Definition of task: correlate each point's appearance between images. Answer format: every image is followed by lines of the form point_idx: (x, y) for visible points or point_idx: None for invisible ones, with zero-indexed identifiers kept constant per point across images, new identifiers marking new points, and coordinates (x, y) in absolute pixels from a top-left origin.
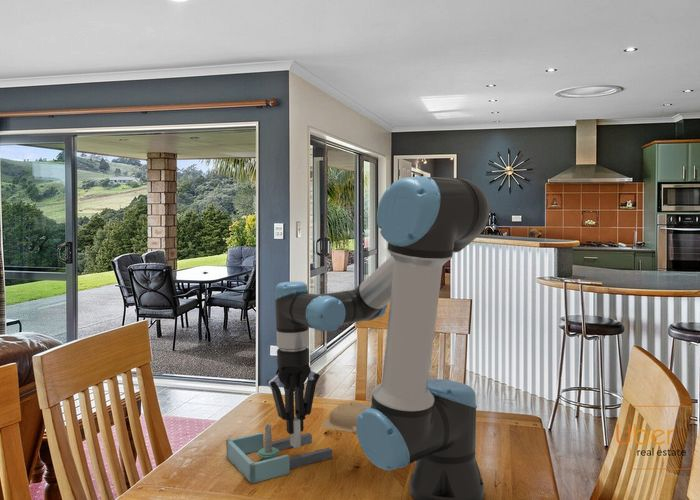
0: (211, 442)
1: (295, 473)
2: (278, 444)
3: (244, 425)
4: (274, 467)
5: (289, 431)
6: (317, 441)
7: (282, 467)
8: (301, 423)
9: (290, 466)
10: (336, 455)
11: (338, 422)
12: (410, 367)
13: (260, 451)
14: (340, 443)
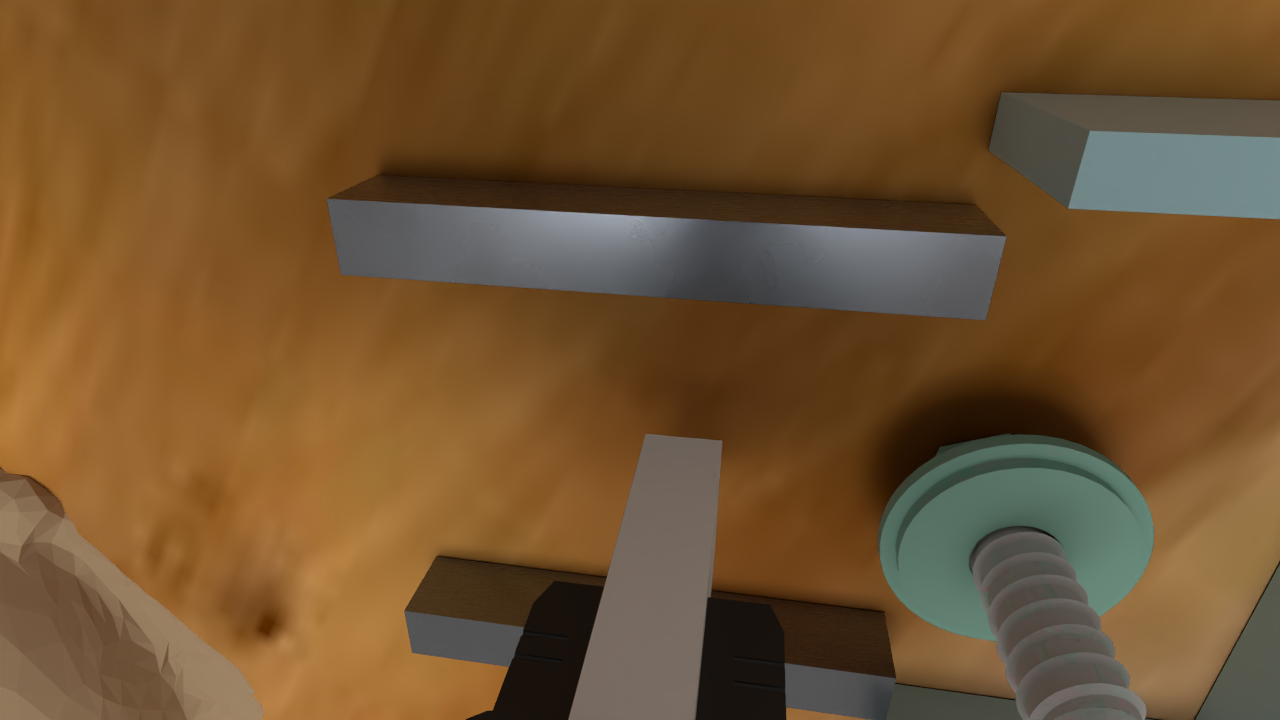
0: None
1: (937, 53)
2: None
3: None
4: None
5: (777, 642)
6: (385, 546)
7: (1153, 110)
8: (539, 687)
9: (915, 210)
10: (318, 203)
11: (114, 668)
12: None
13: (1098, 598)
14: (206, 404)
